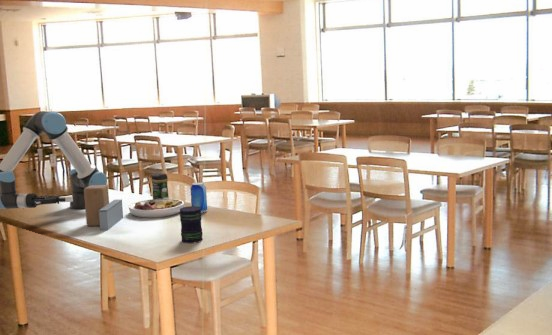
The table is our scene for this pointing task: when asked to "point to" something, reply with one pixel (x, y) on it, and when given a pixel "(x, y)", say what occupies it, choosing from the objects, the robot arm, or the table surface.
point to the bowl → (156, 208)
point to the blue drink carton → (199, 196)
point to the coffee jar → (160, 186)
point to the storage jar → (191, 224)
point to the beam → (110, 214)
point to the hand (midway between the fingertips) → (72, 198)
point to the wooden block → (95, 202)
